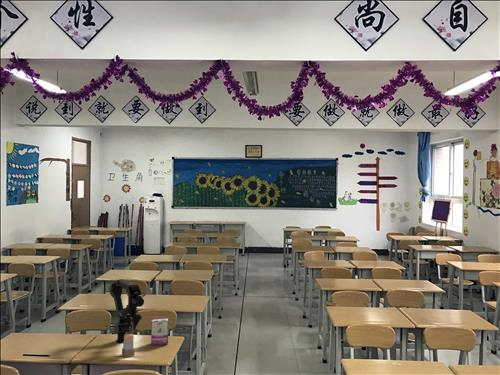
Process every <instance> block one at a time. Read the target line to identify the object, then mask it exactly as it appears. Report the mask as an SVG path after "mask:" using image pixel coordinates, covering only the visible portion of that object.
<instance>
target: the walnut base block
mask: <svg viewBox="0 0 500 375" xmlns="http://www.w3.org/2000/svg"><path fill="white" fill-rule="evenodd" d="M135 351H136V350H135V348H134V347H133V350H127V351H125V350H124V349H123V347H122V348H121V355H122V357H124V358H128V357H134V356H135Z"/></svg>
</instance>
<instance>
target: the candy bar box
mask: <svg viewBox="0 0 500 375" xmlns="http://www.w3.org/2000/svg"><path fill="white" fill-rule="evenodd" d="M150 329H151V334H150V335H151V336H150V338H151V340H150V341H151V342H150V346H165V345H166V346H167V345H169V318H155V319H154V318H152V319H151V327H150Z"/></svg>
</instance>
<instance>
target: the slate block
mask: <svg viewBox="0 0 500 375" xmlns="http://www.w3.org/2000/svg"><path fill="white" fill-rule="evenodd" d="M122 348H123V349H124V350H125V351H127V350H133V348H134V342H133V343H129V344H126V343H125V342H122Z"/></svg>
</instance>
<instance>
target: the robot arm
mask: <svg viewBox="0 0 500 375" xmlns="http://www.w3.org/2000/svg"><path fill="white" fill-rule="evenodd" d="M123 290H125V292H126V293H127V294H126V296H127V299H128V300H127V304H126V307H124V305H123V300H122V294H123ZM108 291H109V293H110V296H111V297H112V298H113V300H114V307H115V310H116V316H117V321H116V322H115V323H116V326H115V327H114V329H113V330H114V331H113V332H114V333H115V334H117V335H116V338H117V339H115V342H116V343H117V344H123V342H124V335H125V334H127V333H129V332H130V328H131V325H132V328H133V330H136V329H137V326H138V325H139V323H140V321H141V320H142V317H143V316H142V315H141V314H140V313H138V307H139V308H140V307H142V306H144V304H145V300H144V298H143V297H142V290H141V288H140V286H139V284H138V283H130V282H128V281H126V280H124V279H116V280H115V281H114V282H113V283H112V284H111V285H110V286H109V288H108Z"/></svg>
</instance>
